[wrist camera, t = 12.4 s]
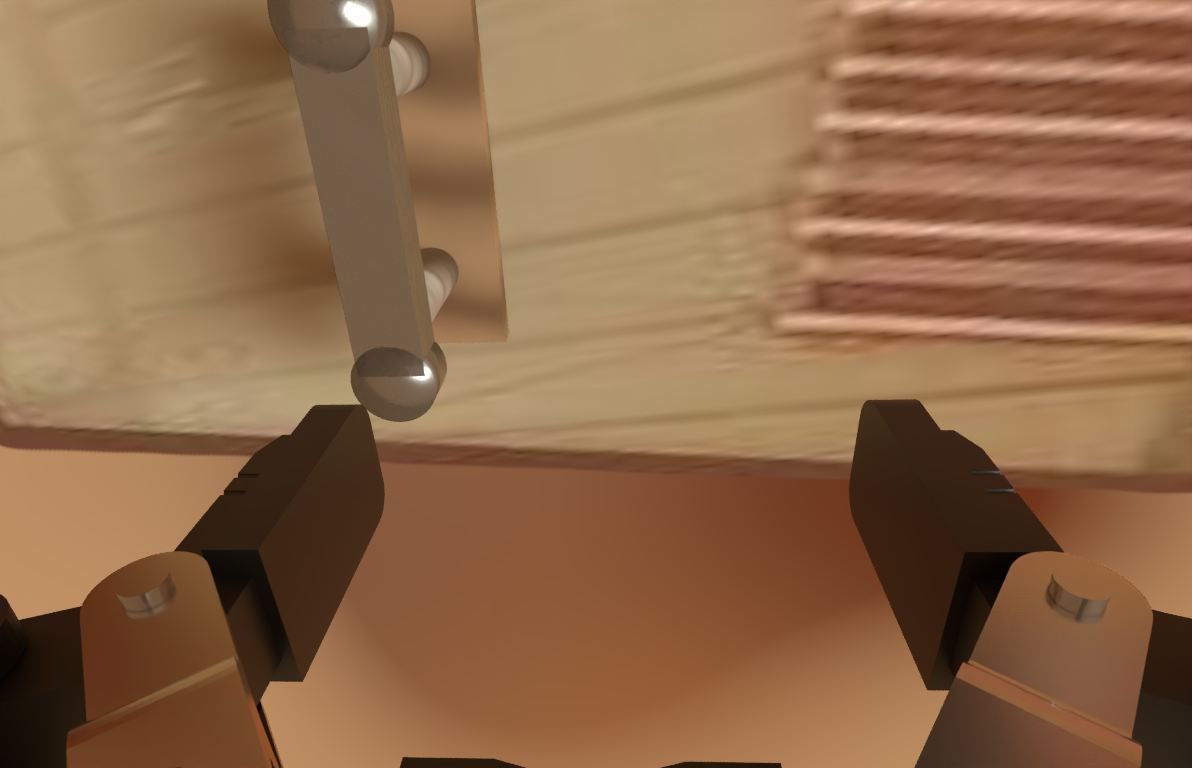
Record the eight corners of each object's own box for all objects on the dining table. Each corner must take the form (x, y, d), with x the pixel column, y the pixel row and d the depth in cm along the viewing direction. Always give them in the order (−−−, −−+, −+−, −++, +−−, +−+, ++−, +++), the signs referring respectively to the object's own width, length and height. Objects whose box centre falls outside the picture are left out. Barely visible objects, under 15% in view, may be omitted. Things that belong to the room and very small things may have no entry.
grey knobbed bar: (282, -43, 30) (254, -47, 28) (385, -48, 30) (365, -52, 28) (374, 399, 40) (359, 422, 38) (451, 398, 40) (441, 421, 38)
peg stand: (323, -39, 38) (237, -51, 30) (470, -46, 38) (425, -60, 30) (392, 334, 49) (343, 403, 40) (508, 332, 48) (483, 402, 40)
